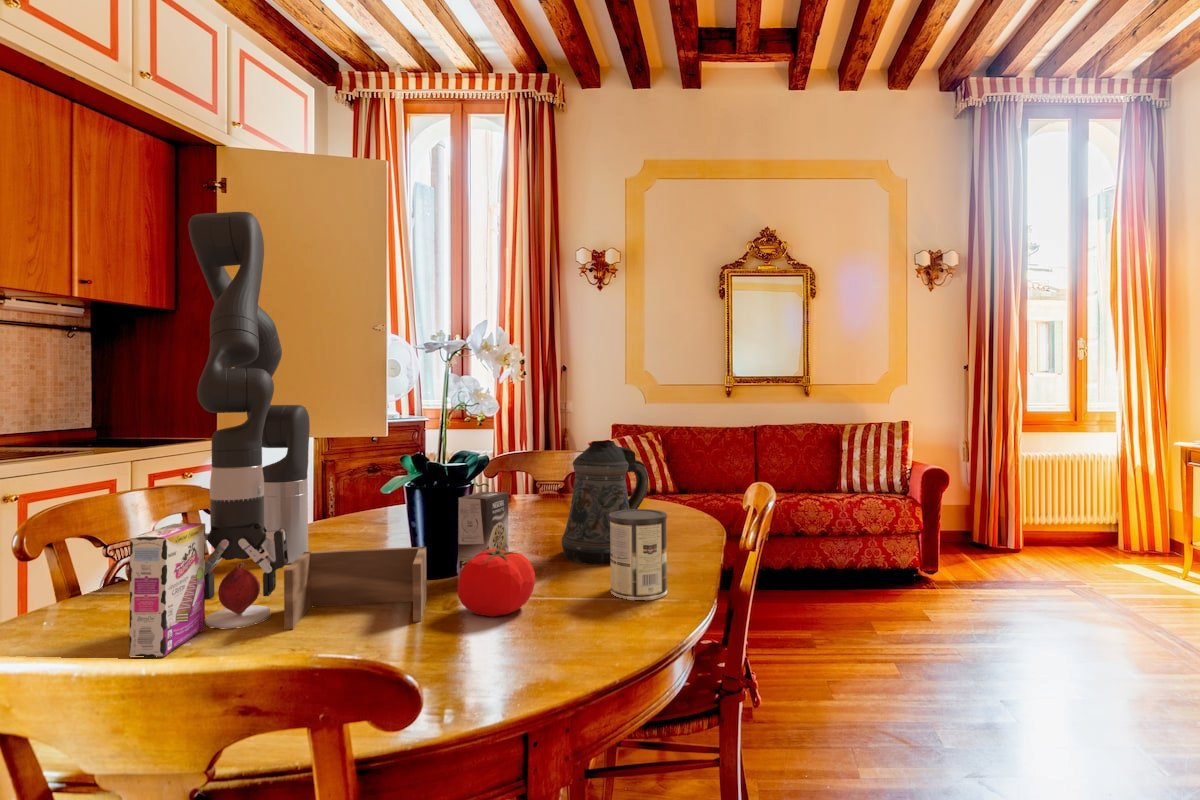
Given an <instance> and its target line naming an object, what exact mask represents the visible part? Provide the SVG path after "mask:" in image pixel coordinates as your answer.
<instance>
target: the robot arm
mask: <svg viewBox="0 0 1200 800" xmlns="http://www.w3.org/2000/svg"><path fill="white" fill-rule="evenodd" d="M188 233H189V239H190V242H191V245H192V248H193V251H194V254H195V258H196V259H197V262H198V264H199V268H200V270H201V271H202V274H203V277H204V279H205V282H206V284H207V286H208V290H209V292H210V294H211V297H212V300H213V302H214V305H213V306H212V310H211V312H210V316H209V340H210V341H209V354H208V357H207V360H206V363H205V366H204V368H203V370H202V373H201V376H200V378H199V381H198V384H197V390H196V396H197V401H198V403H199V404H200V406H201V407H202V408H203V409H204V410H205V411H207V412H209V413H214V414H227V413H232V414H233V413H235V414H236V413H246V417H247V419H246V420H245V421H244V422H243V423H241V424H239V425H236V426H231V427H225V428H220V429H218V430H215V432H214V431H213V434H212V436H211V474H210V480H209V490H208V494H209V501H210V502H209V505H210V507H209V508H210V511H209V512H210V519H209V520H210V523H209V524H210V530H209V533H206V532H205V544H206V542H208V544H209V545H210V546H211V547H212V548H213V551H212V552H211V554H210V555H209V557H208V558H207V559H205V601H206V600H207V601H208V600H212V599H213V598H214V597H215V572H213V570H214V569H215V567H217V565H218V564H219V562H220V561H222V559H223V560H225V561H232V560H235V559H237V560H248V559H249V558H251V560H252V561H253V562H254V563H255V564H257V565H259V567H260V568H261V569H262V570H263V574H262V595H263V597H269V596H270V595H271V594H272V593H273V592H274V591H275V589H276V588H277V587H276V586H277V583H276V582H277V578H276V577H277V575H276V574H277V572H276V571H277V570H280V569H283V568H284V567H285V566H286V565H288V564H289V565H290V564H292V563H293V562H294V561H295V560H296V559H297V558H298V557H299V556H300V555H301V554H303V553H304V552H309V507H308V506H309V502H308V500H309V499H308V498H309V497H308V494H309V493H308V489H309V488H308V469H309V447H310V433H311V432H310V427H311V426H310V416H309V411H308V410H307V409H306V407H305V406H303V405H299V404H271V403H272V399H273V396H274V392H275V383H274V380H273V376H274V374H275V372H276V371H277V369H278V366H279V364H280V362H281V360H282V355H283V351H282V350H283V348H282V346H281V345H282V344H281V341H280V337H279V334H278V330H277V325H276V324H275V321H274V320H273V319H272V317H271V316H270V315H269V313H267V311H265V310H264V309H263V308H262V307H261V306H260V305H259V300H260V292H261V286H262V285H261V284H262V279H263V271H264V270H263V269H264V268H263V267H264V260H265V259H264V258H265V241H264V235H263V232H262V228H261V226H260V222H259V220H258V219H257V217H256V216H255V215H254V214H253V213H252V212H250V211H249V212H248V211H228V212H227V211H224V212H210V213H198V214H197V213H196V214H194V215H192V216H191V217H190V218H189V221H188ZM231 266H239V267H238V271H236V274H235V275H234V278H233V279H232V278H231V275H229V273H228V271H227V270H226V267H231ZM263 448H264V449H265V448H266V449H287V451H286V454H285V456H284V457H282V458H281V459H279V460H277V461H276V462H273V463H271V464H270V463H269V464H266V465H264V466H263Z"/></svg>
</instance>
